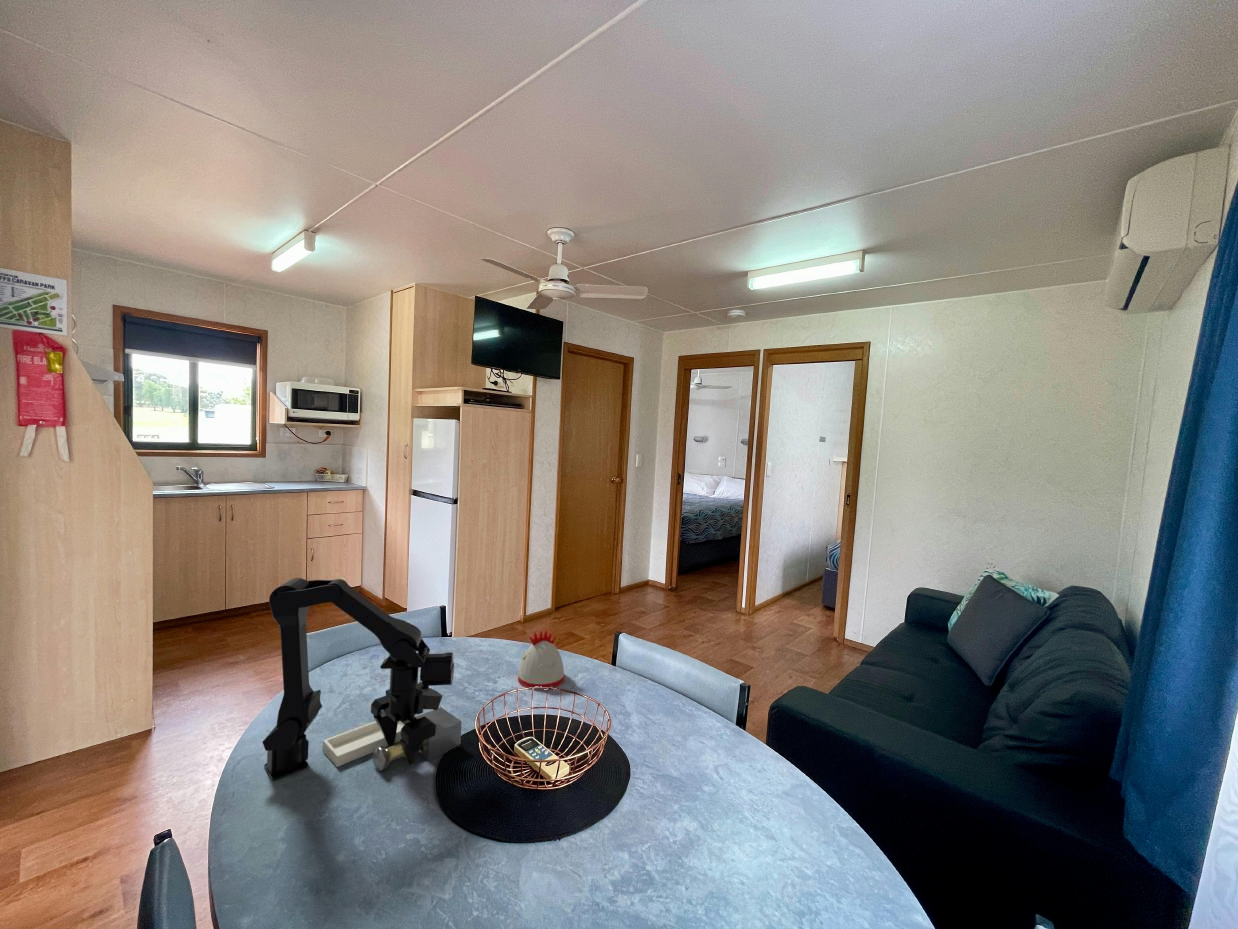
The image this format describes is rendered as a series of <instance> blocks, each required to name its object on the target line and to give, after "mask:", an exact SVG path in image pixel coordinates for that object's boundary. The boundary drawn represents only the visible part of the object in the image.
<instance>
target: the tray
mask: <svg viewBox="0 0 1238 929" xmlns="http://www.w3.org/2000/svg"><path fill="white" fill-rule="evenodd" d="M403 726H404V724H403V723H402V722H401V721H399V722H398V725H397V732H396V738H395V743H394V744H397V743H398V742H399V743H400V742H401V741H400V739H402V738H401V729H402V727H403ZM380 746H383V747H384V748H386V747H387V748H388V747H389V746H388V744H387V742H386V740H385V738H384V736H383V734H382V732H381V730H380V728H379V726H378V724H377V722H376V720H375V721H371V722H370V723H366V724H364V725H361V726H358V727H356V728H352V729H351V730H348V731H345V732H342V733H339V734H337V735H334V736H332V737H329V738H326V739H323V740H322V752H324V754H325V755H326V756H327V758H329V760H330V761H331V762H332V763H333V764H334V765H335V766H336V767H337V768H339V767H340V766H342V765H345V764H347V763H351V762H352V761H355V760H357V759H360V758H362V757H365V756H367V755H369V754H371V753H372V754H373V750H374V749H375V748H377V747H380Z"/></svg>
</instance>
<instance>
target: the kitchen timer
mask: <svg viewBox="0 0 1238 929" xmlns="http://www.w3.org/2000/svg"><path fill="white" fill-rule="evenodd" d="M537 635H538V636H537ZM552 635H553V634H552V632H549V633H548V631H547V629H545V630H544V632H543V631H542V630H540V631H539V634H537V632H536V631H534V632H533V638H532V636H530V635H529V637H528V638H529V640H530V642H531V643H532V644H531V645H530V646H529V647H528V648H527V649H526V651H525V653H524V654H523V657H522V660H521V661H520V665H519V668H518V674H517V675H518V676H517V682H518V683H519V684H520V685H521V686H522V687H524V688H527V687H535V686H539V687H540V686H542V687H554V688H556V687H558V686H560V685H561V684H563V682H564V681H565V670H564V669H565V668H564V664H563V659H562V656H561V653H560V651H559V650H558V648H557V647H556V646H555V645H554V643H555V641H556V638H557V636H556V635H554V636H552ZM551 637H552V639H551Z"/></svg>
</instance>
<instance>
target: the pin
mask: <svg viewBox="0 0 1238 929" xmlns="http://www.w3.org/2000/svg"><path fill="white" fill-rule="evenodd" d="M423 746H424V741H423V743H422V745H421V747H420V748H423ZM404 756H405V754H404V751H403V748H402V745H401V742H399V743H398V742H397V743H395V744H394V746H391V747H389V746H388V747H387V748H386V747H383V746H380V747H377V748H375V749H374V750H373V752H372V763H373V766H374V768H375V770H376V771H377V772H381V771H384V770H386V769H387V768H388V765H389V763H390V762H393V761H395V760H397V759H399V758H402V757H404Z"/></svg>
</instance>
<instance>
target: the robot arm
mask: <svg viewBox="0 0 1238 929" xmlns="http://www.w3.org/2000/svg"><path fill="white" fill-rule="evenodd" d="M268 602H269V607H270V611H271V615H272V618H273V619H274V620H275V622H276V623H277V626H279V631H280V646H281V647H280V648H281V665H282V669H281V670H282V682H283V684H282V685H283V686H282V687H283V696H282V699H281V702H280V703H281V704H280V706H279V709H278V712H277V720H276V725H275V726H274V728H273V729H272V730H271V731H270V732H269V733H268V735H267V736H266V737H265V738H264V739H263V741H262V744H263V747H264V749H265V751H266V753H267V755H266V756H267V757H266V758H267V759H266V763H265V764H264V765H263V768H264V770H265V771H266V772H267V774H268V775H269V777H270V778H271V779H272V780H273V781H275V780H278V779H281V778H283V777H287V776H289V775H291V774H293V773H296V772H299V771H301V770H304V769H306V768H308V767H309V763H308V761H307V760H309V743H310V742H309V740H308V739H307V734H306V733H305V732H306V731H307V730H308V729H309V727H310V726H312V723H313V722H314V721H315V719H316V718H317V716H318V714H319V712H320V710H321V709H322V708H323V704H322V702H321V693H322V691H321V689H318V690H313V688H312V687H311V685H310V677H309V676H310V674H309V673H310V672H309V670H310V669H309V656H308V655H309V654H308V638H307V633H308V632H307V618H308V615H309V611H310V608H311V606H316V605H320V604H326V603H327V604H328V603H331V604H333V605H334V606H335V607H336V608H338V609H340V610H341V611H342V612H343V613H345V614H346V615H348V617H350V618H351V619H353V620H354V621H356V622H357V623H359V624H360V625H361V626H362V627H364V628H365V629H367V630H368V631H369V632H370V633H372V634H373V635H374V636H375V637H376V638H377V639H378V641H379V642H380V645H381V646H382V648H384V650H385V651H386V652H387V653H388V654H389V655H388V657H386V658H384V660H383V662H382V663H381V664H380V667H379V668H380V669H382V670H384V669H389V670H390V671H389V673H390V674H389V689H386V690H385V695H383V696H381V697H377V698H375V699H374V700H373V702H372V703H371V704H370V713H371V714H372V715H373V717H372V718H374V720H375V721H376V722H377V724H378V726H379V728H380V730H381V732H382V734H383V736H384V738H385V740H386V742H387V744H388V746H387V747H388V748H389V747H391V746H394V745H395V744H396V743H395V738H396V732H397V725H398V722H399V721H401V722H402V723H403V724H404V726H403V727H402V729H401V738H402V739H400V741H399V742H400V743H401V745H402V748H403V751H404V754H405V755H404V756H405V759H406V762H407V765H408V766H409V767H410V766H412V765H414V764H415V762H416V760H417V758H418V756H419V755H418V754H419V750H420V747H421V745H422V743H423V741H424V740H426V739H428V738H430V737H432V736H435V734H436V724H435V723H433V722H432V721H431V720H429V719H428V718H427V717H425V716H424V717H422V718H419V719H417V718H416V717H417V716H416V715H422V714H424V713H423V712H424V710H438V708H440V705H441V701H442V699H443V694H441V693H440V692H439V691H437V690H436V689H433V688H431V687H432V686H452V685H453V682H454V681H453V680H454V673H455V662H454V653H453V652H452V651H451V652H443V653H430V652H431V648H430V647H429V646H428V644H427V643H426V642H425V641H424V639H423V638H422V631H421V630H420V628H418V627H417V626H416V625H414V624H412V623H410V622H408V621H406V620H403V619H400V618H395V617H393V616H391V615H389V613H387V612H386V611H384V610H382V609H381V608H380V607H379V606H377V604H375V603H373V602H372V601H371V600H369V599H368V598H367V597H365V596H364V595H363V594H361V592H358V591H357V590H356V589H354V587H352V586H351V585H349V584H348V583H347V581H346V580H344V579H341V578H337V579H312V580H311V579H310V580H306V579H304V578H301V577H300V578H299V577H295V578H292V579H290V580H287V581H286V582H285V583H283V584H281V585H280V586H278V587H276V588H275V589H273V591H272V592H271V593H270V595H269V599H268ZM419 671H420V672H419Z"/></svg>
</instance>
